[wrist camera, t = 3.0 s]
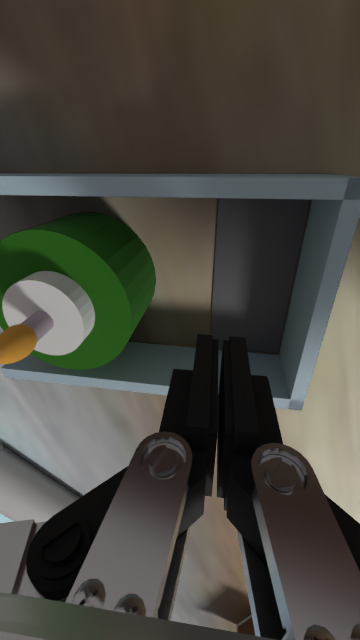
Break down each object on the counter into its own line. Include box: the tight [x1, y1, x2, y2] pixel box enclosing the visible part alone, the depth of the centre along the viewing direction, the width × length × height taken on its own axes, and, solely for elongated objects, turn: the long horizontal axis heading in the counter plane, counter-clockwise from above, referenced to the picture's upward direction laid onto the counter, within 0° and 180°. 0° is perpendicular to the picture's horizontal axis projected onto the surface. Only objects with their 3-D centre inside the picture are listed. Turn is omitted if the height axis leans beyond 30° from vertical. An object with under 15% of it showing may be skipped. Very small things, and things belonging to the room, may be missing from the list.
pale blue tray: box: [0, 173, 360, 410], centre depth 17 cm, size 20×13×4 cm, turn 90°
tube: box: [0, 442, 80, 523], centre depth 34 cm, size 5×5×25 cm
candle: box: [0, 212, 156, 370], centre depth 15 cm, size 8×8×10 cm
